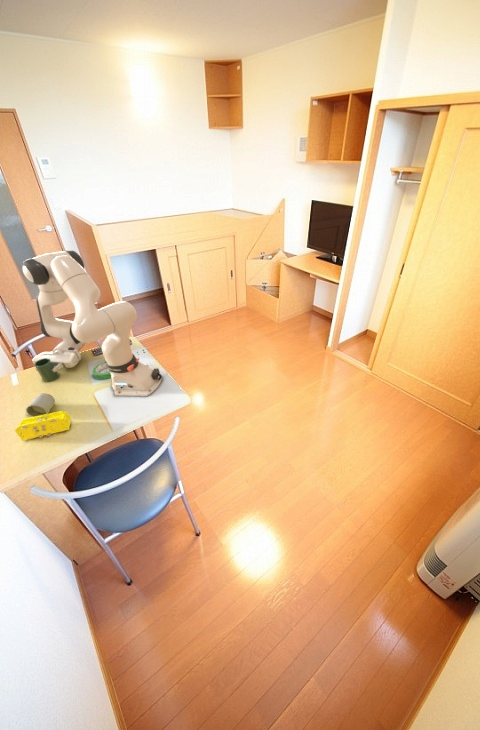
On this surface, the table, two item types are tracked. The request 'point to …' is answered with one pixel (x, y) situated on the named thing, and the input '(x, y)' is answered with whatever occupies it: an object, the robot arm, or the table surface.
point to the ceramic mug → (40, 405)
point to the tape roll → (101, 375)
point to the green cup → (46, 370)
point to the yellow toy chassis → (43, 425)
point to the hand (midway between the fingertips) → (45, 370)
